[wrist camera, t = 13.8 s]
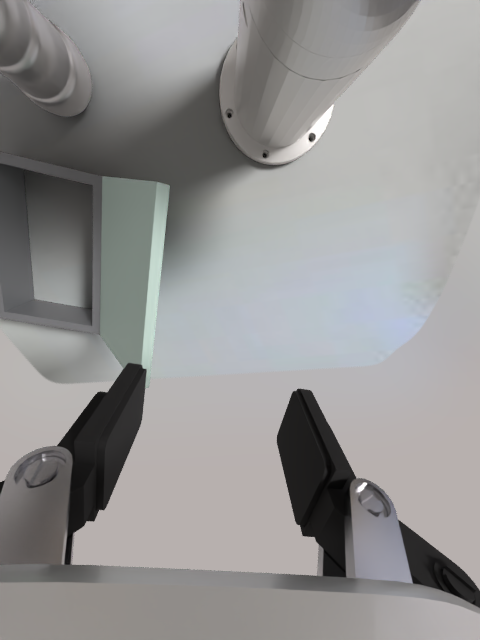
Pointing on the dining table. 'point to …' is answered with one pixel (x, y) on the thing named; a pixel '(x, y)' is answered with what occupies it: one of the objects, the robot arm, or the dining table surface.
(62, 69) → the plastic bottle
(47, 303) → the grey open box
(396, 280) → the dining table surface
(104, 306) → the cover
